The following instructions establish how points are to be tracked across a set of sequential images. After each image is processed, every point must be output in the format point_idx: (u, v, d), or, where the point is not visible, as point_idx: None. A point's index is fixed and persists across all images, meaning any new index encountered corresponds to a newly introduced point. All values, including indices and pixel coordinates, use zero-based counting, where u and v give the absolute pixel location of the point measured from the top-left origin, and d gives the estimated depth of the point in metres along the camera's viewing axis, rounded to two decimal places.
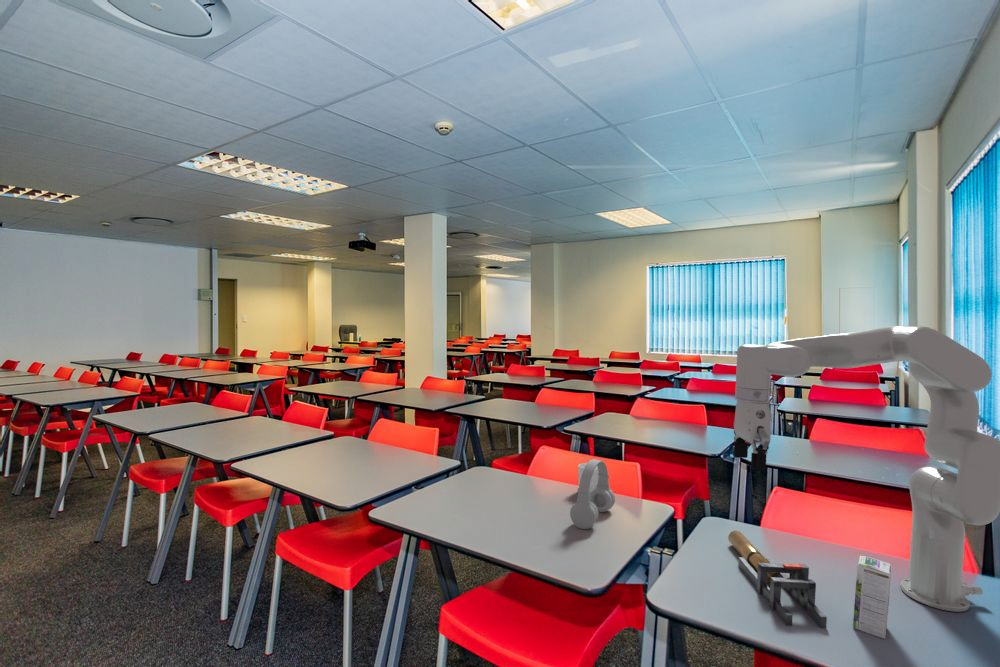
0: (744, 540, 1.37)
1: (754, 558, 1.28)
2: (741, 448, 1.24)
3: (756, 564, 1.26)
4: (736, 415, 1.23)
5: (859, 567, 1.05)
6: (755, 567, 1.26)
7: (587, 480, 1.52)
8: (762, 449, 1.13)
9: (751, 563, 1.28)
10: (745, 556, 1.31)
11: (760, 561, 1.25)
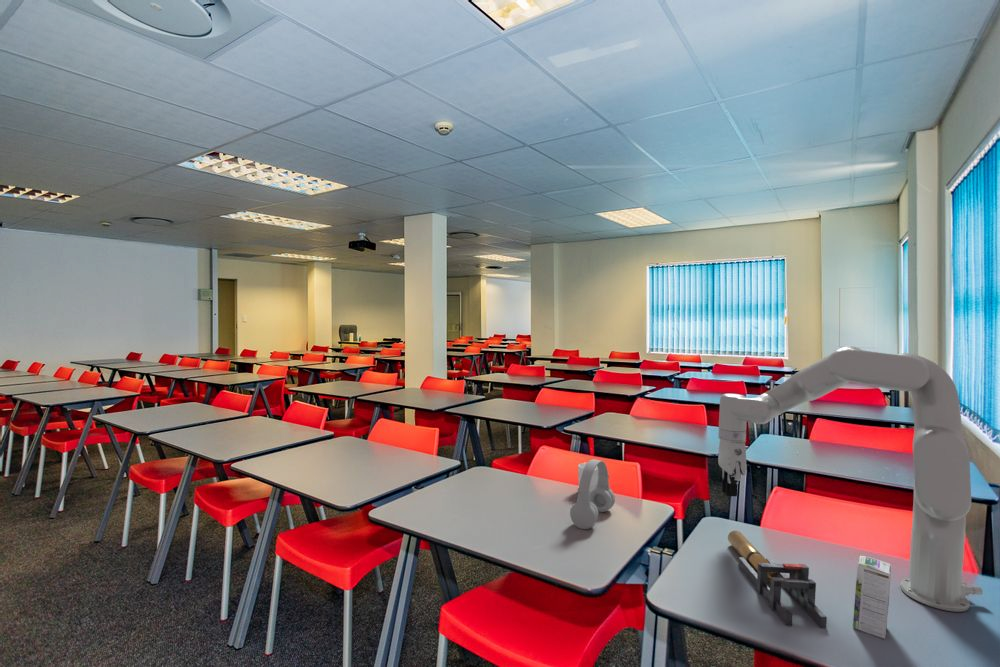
0: (743, 540, 1.37)
1: (753, 558, 1.28)
2: None
3: (755, 564, 1.26)
4: (719, 450, 1.51)
5: (859, 567, 1.05)
6: (754, 567, 1.26)
7: (587, 480, 1.52)
8: None
9: (750, 563, 1.28)
10: (744, 556, 1.31)
11: (759, 561, 1.25)
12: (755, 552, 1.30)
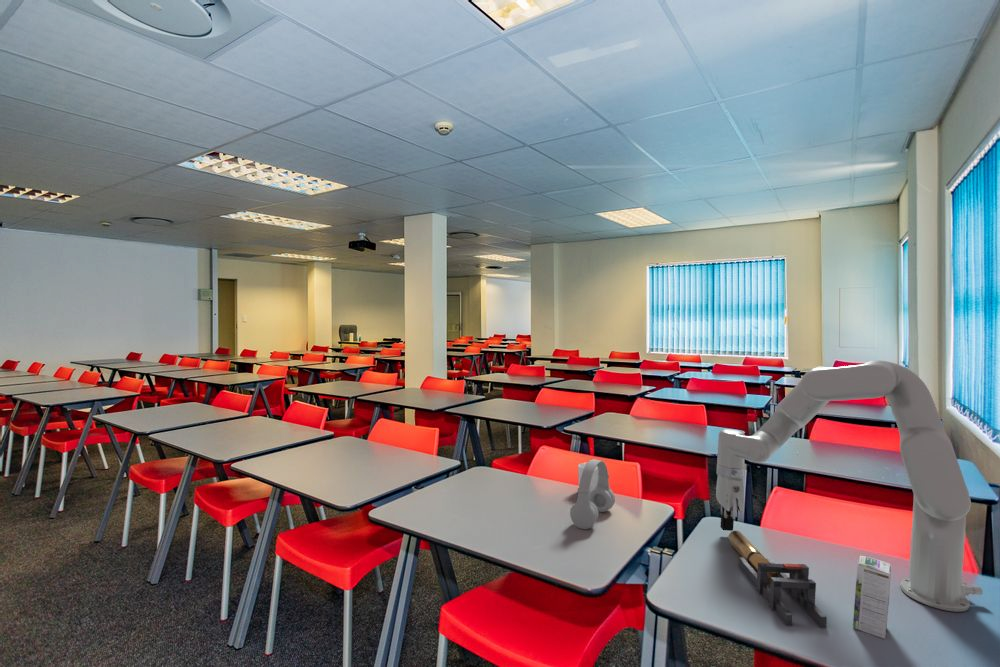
0: (744, 540, 1.37)
1: (754, 558, 1.28)
2: None
3: (756, 564, 1.26)
4: (717, 485, 1.51)
5: (859, 567, 1.05)
6: (755, 567, 1.26)
7: (587, 480, 1.52)
8: None
9: (751, 563, 1.28)
10: (745, 556, 1.31)
11: (760, 561, 1.25)
12: (756, 552, 1.30)
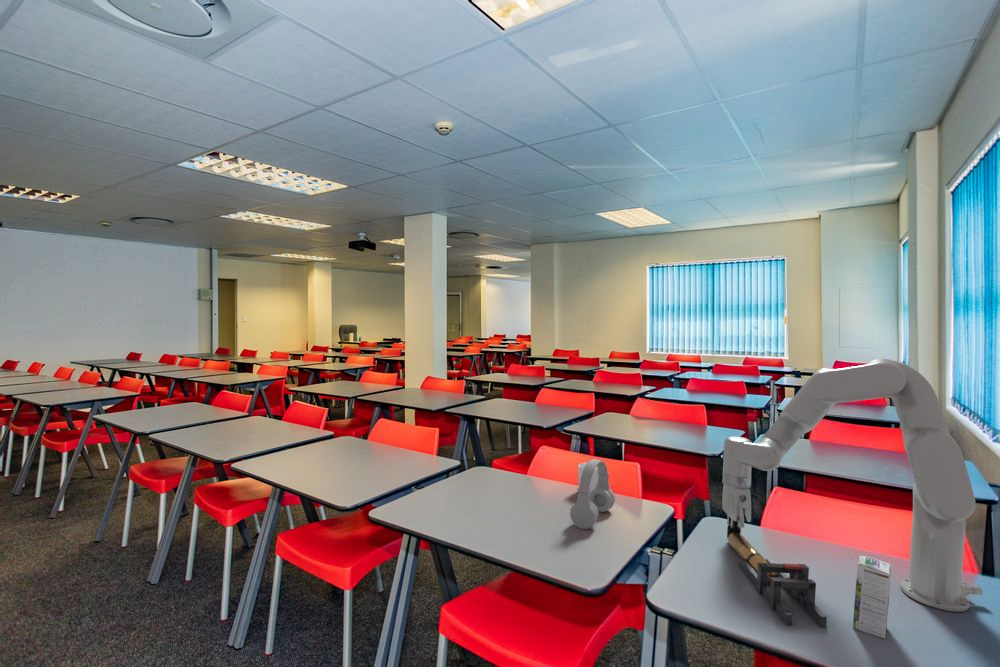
0: (742, 542, 1.36)
1: (753, 561, 1.27)
2: (733, 531, 1.44)
3: (756, 567, 1.25)
4: (723, 494, 1.47)
5: (859, 567, 1.05)
6: (755, 570, 1.25)
7: (587, 480, 1.52)
8: None
9: (751, 566, 1.27)
10: (745, 559, 1.31)
11: None
12: (755, 554, 1.29)
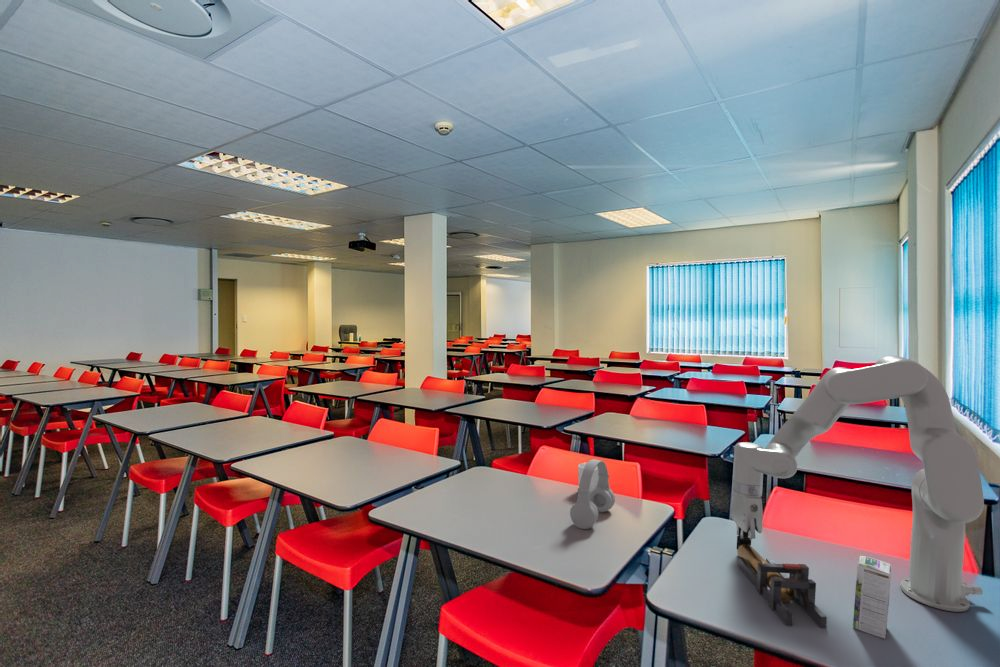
0: (754, 555, 1.28)
1: (767, 576, 1.20)
2: None
3: (770, 583, 1.17)
4: (733, 503, 1.40)
5: (859, 567, 1.05)
6: (769, 586, 1.17)
7: (587, 480, 1.52)
8: None
9: None
10: None
11: None
12: None
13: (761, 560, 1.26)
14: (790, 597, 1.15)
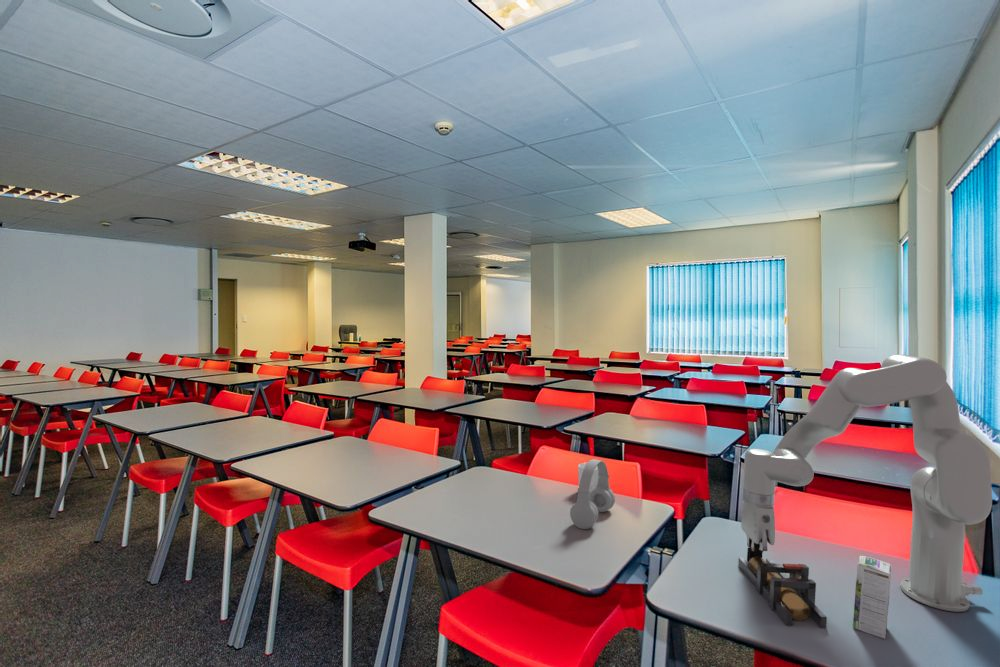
0: None
1: None
2: None
3: (783, 600, 1.11)
4: (743, 513, 1.33)
5: (859, 567, 1.05)
6: (783, 603, 1.11)
7: (587, 480, 1.52)
8: None
9: None
10: None
11: (787, 596, 1.10)
12: None
13: (774, 574, 1.19)
14: (806, 615, 1.08)
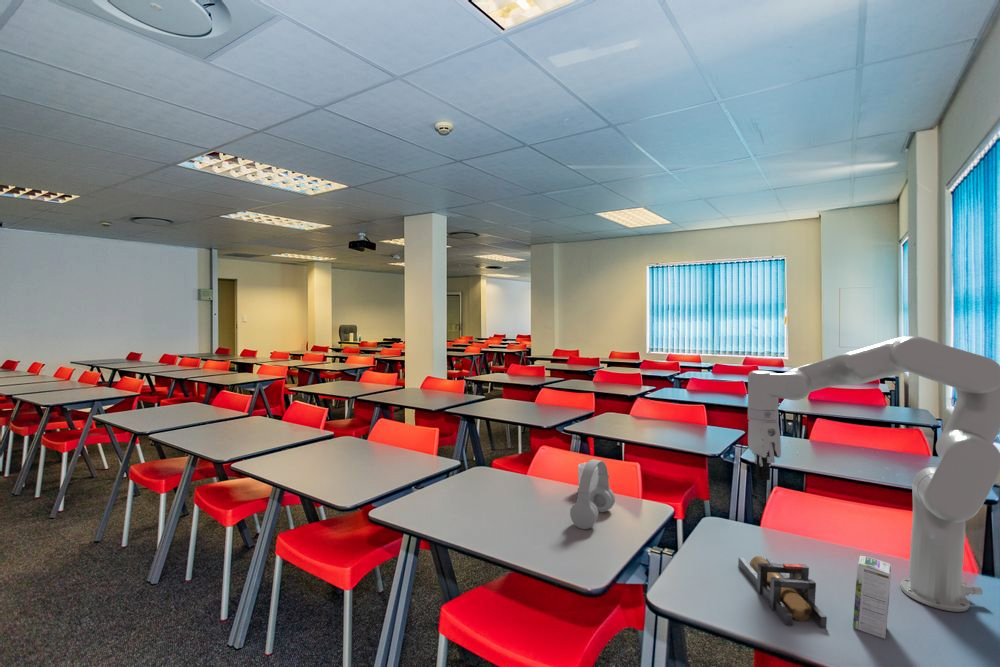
0: None
1: (783, 591, 1.13)
2: None
3: (786, 598, 1.11)
4: (749, 432, 1.40)
5: (859, 567, 1.05)
6: (785, 602, 1.11)
7: (587, 480, 1.52)
8: None
9: None
10: None
11: (791, 595, 1.10)
12: None
13: (777, 575, 1.19)
14: (807, 616, 1.08)
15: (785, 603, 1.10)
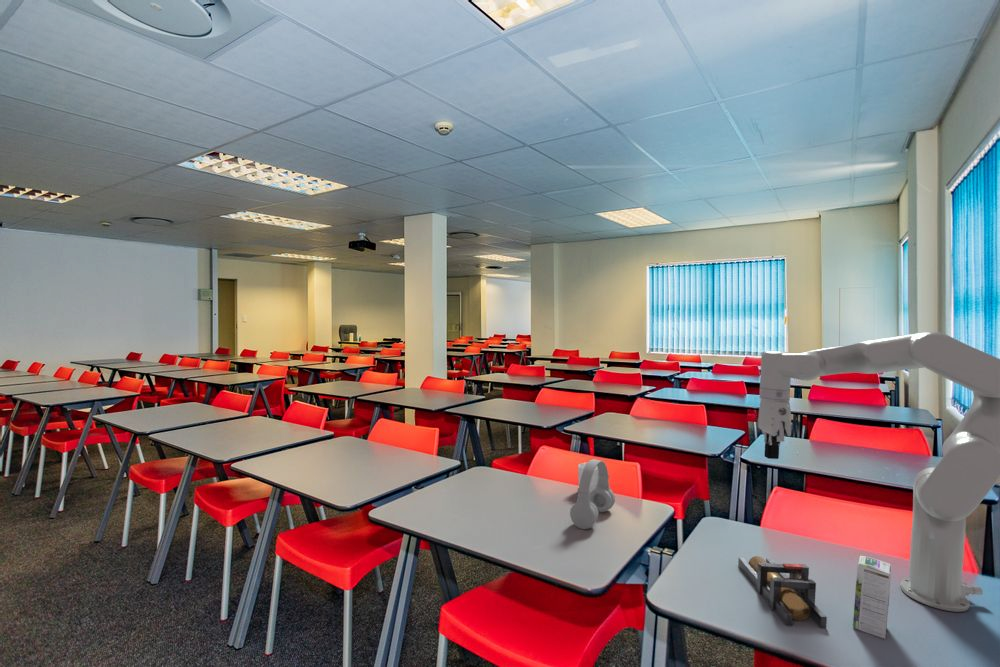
0: None
1: None
2: None
3: (784, 600, 1.11)
4: (760, 412, 1.42)
5: (859, 567, 1.05)
6: (783, 603, 1.11)
7: (587, 480, 1.52)
8: None
9: None
10: None
11: (787, 596, 1.10)
12: None
13: (774, 574, 1.19)
14: (806, 615, 1.08)
15: None
